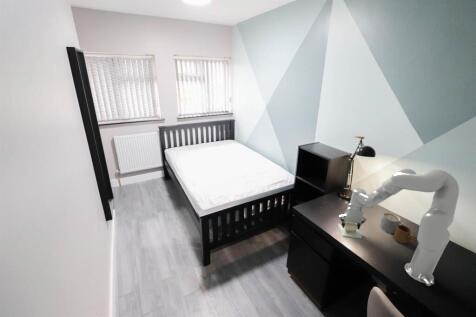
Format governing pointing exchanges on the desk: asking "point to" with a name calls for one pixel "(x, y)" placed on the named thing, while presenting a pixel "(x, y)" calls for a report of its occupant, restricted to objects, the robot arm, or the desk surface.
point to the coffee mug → (390, 222)
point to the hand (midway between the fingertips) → (350, 227)
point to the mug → (403, 234)
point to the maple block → (350, 227)
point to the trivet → (349, 233)
